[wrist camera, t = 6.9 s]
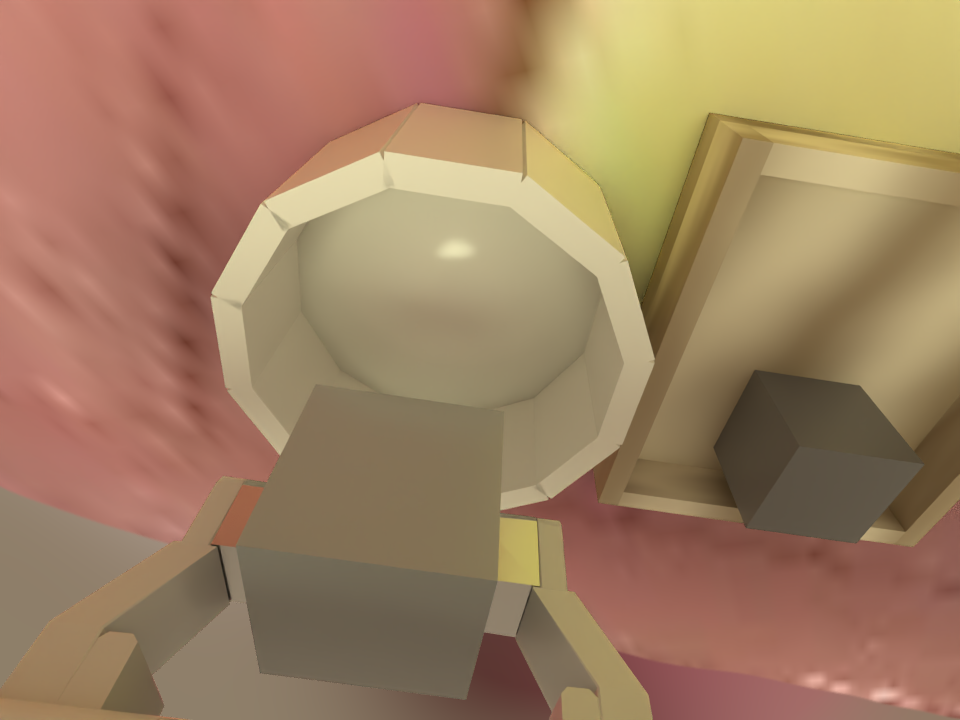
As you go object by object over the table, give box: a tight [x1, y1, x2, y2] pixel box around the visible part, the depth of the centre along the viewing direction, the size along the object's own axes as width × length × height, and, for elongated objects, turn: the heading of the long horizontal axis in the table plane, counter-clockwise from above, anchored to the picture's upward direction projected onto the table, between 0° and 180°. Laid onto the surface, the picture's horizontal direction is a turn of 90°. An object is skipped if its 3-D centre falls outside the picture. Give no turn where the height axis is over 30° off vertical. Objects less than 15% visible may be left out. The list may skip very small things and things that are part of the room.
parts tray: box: [593, 113, 960, 547], centre depth 19 cm, size 13×14×3 cm
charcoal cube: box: [713, 370, 925, 543], centre depth 20 cm, size 4×4×4 cm
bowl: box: [211, 103, 655, 510], centre depth 18 cm, size 12×12×6 cm
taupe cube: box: [236, 384, 504, 700], centre depth 11 cm, size 4×4×4 cm
